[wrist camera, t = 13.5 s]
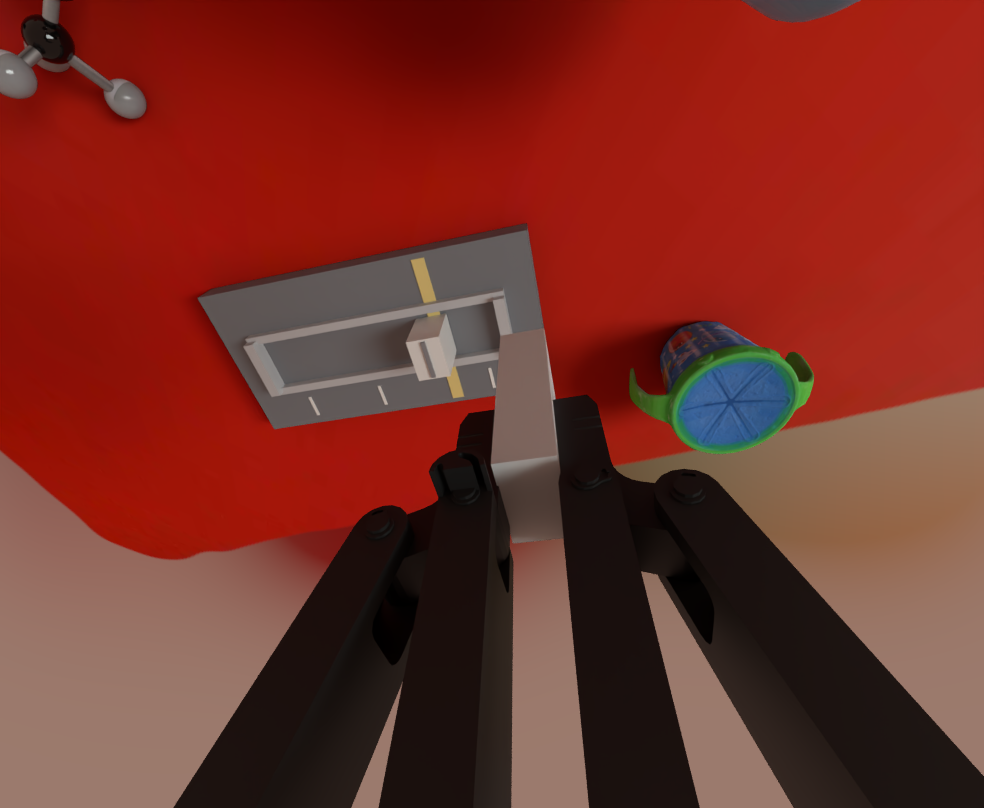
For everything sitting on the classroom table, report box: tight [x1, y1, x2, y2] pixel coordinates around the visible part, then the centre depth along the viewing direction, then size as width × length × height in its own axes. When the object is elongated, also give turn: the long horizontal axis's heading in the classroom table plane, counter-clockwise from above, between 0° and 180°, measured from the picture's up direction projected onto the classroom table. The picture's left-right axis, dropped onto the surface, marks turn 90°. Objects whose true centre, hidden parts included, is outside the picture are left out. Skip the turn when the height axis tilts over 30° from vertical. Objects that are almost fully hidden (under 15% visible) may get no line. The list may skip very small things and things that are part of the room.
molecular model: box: [0, 0, 147, 119], centre depth 30 cm, size 8×12×11 cm
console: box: [198, 223, 544, 429], centre depth 47 cm, size 16×32×4 cm, turn 102°
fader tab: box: [406, 314, 457, 381], centre depth 43 cm, size 4×3×5 cm
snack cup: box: [629, 321, 814, 454], centre depth 44 cm, size 16×11×10 cm
